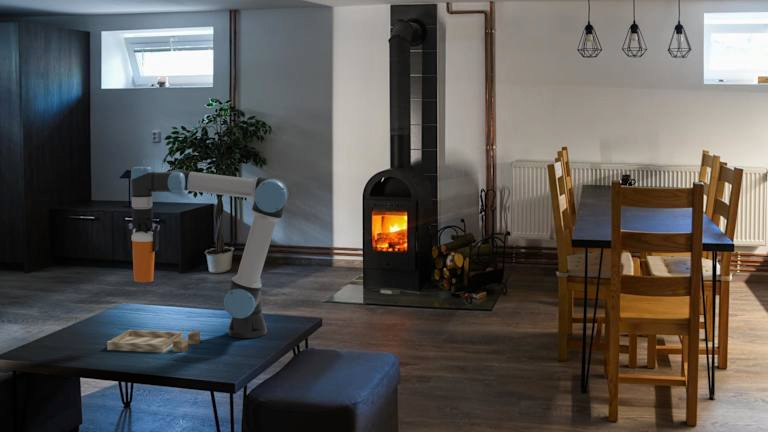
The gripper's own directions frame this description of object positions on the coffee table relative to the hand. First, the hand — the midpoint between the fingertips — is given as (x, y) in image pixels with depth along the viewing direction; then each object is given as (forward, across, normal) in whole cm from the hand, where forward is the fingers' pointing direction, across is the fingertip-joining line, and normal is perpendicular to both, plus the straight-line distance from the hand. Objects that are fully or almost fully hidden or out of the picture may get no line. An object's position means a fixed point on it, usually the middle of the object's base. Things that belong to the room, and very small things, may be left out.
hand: (144, 269), depth 321 cm
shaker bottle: (+5, 0, 0) cm, 5 cm away
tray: (+29, -1, +3) cm, 29 cm away
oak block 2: (+29, -18, -4) cm, 34 cm away
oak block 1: (+29, -17, +7) cm, 34 cm away
